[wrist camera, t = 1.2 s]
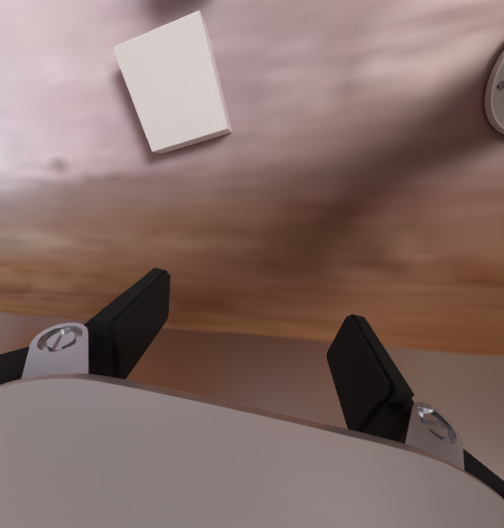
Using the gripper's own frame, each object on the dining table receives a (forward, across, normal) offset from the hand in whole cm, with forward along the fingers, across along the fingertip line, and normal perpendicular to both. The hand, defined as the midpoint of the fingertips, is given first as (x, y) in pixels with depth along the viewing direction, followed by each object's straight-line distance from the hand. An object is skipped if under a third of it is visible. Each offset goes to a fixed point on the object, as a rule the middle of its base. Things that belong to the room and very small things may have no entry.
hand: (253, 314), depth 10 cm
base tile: (+25, +15, -13) cm, 32 cm away
